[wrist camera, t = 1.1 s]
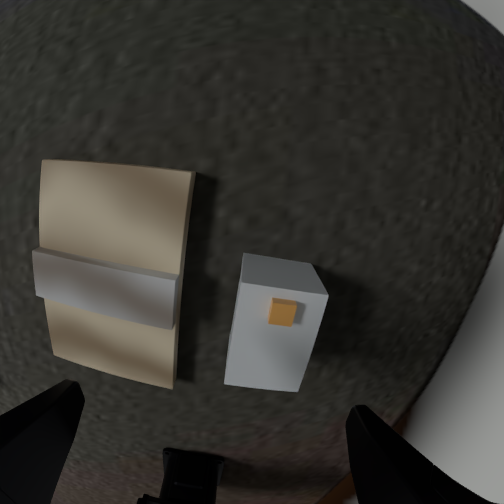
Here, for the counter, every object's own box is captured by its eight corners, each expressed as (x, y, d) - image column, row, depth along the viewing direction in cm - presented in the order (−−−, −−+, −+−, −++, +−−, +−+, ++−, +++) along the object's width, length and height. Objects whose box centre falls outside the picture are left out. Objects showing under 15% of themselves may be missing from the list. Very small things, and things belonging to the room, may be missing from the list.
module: (289, 347, 22) (298, 398, 16) (229, 339, 21) (223, 390, 16) (311, 263, 20) (331, 300, 14) (243, 252, 20) (240, 286, 14)
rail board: (176, 377, 23) (169, 397, 20) (61, 346, 22) (48, 361, 20) (196, 171, 18) (187, 173, 16) (54, 159, 18) (33, 160, 15)
